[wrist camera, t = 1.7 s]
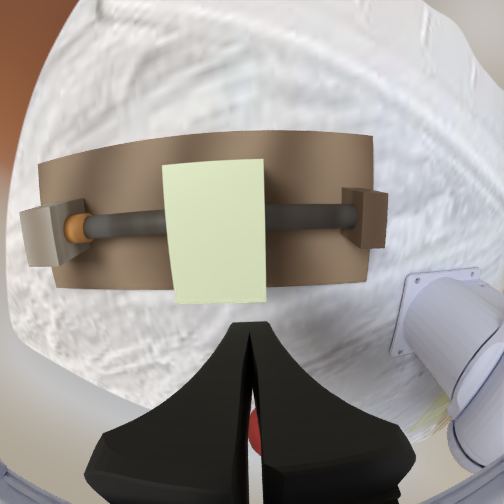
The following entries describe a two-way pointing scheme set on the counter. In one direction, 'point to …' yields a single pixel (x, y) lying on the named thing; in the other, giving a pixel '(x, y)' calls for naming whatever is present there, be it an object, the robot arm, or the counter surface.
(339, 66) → the counter surface
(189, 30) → the counter surface
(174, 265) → the sleeve
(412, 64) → the counter surface
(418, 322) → the robot arm
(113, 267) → the cord board
